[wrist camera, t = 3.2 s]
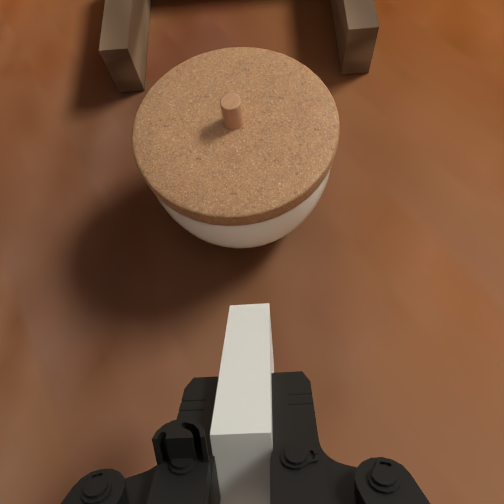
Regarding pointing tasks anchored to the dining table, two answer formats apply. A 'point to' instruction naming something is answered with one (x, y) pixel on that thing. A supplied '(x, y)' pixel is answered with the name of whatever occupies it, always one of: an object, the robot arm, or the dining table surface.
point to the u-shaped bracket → (137, 29)
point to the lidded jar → (237, 144)
